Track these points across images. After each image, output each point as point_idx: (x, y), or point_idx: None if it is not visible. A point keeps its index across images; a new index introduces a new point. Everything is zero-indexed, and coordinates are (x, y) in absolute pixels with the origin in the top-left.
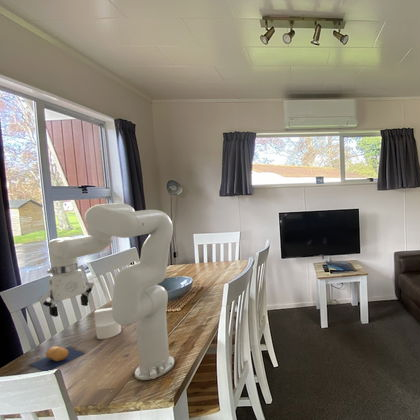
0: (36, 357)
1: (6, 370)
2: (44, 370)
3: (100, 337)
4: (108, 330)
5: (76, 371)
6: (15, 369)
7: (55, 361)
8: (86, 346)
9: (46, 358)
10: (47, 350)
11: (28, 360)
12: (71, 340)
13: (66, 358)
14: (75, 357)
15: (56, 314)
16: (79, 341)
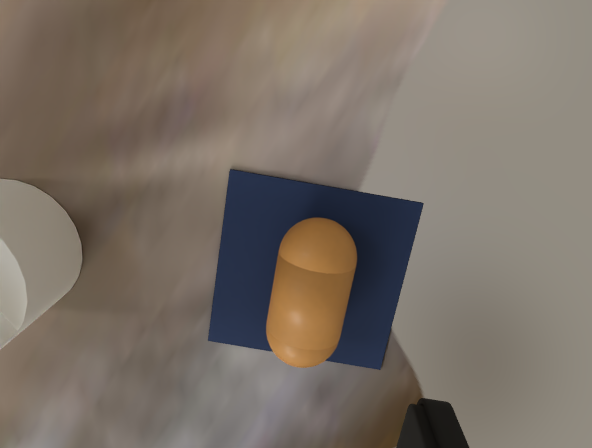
0: (317, 411)
1: None
2: (414, 230)
3: (73, 243)
4: (13, 209)
5: (394, 9)
6: None
7: None
8: (168, 245)
9: None
10: (326, 357)
11: (346, 421)
12: (146, 402)
13: None
14: (278, 182)
15: (448, 427)
16: (140, 346)
